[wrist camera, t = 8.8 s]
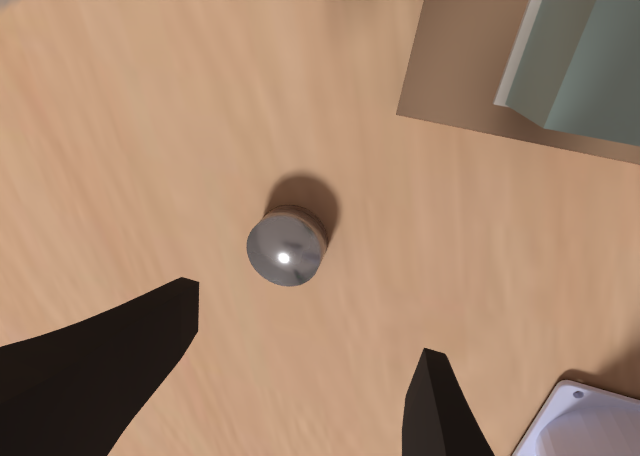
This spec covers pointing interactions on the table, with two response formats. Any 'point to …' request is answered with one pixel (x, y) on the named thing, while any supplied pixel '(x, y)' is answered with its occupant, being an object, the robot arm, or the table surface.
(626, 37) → the block
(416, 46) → the stand
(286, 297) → the table surface
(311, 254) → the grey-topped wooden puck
